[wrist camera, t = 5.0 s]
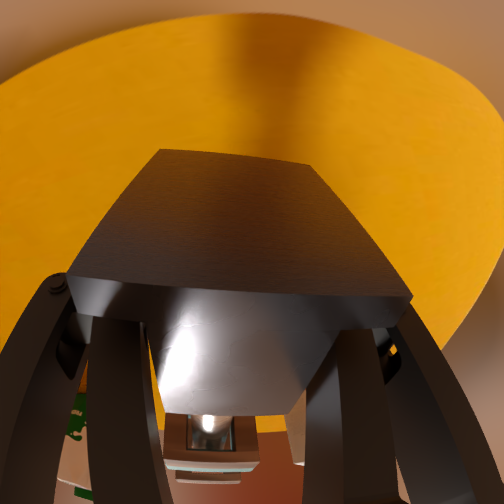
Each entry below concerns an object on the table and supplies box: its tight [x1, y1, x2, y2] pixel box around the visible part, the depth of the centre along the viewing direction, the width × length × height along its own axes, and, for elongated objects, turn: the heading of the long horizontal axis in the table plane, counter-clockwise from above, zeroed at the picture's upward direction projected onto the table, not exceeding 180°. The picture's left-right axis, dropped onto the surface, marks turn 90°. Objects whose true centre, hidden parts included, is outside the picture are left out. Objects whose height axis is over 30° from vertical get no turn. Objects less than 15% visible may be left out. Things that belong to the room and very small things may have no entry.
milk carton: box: [57, 394, 93, 501], centre depth 32 cm, size 9×9×20 cm
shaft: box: [65, 149, 413, 450], centre depth 17 cm, size 30×7×9 cm, turn 171°
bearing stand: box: [163, 412, 260, 484], centre depth 27 cm, size 24×12×15 cm, turn 171°
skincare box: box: [284, 390, 306, 466], centre depth 36 cm, size 6×4×12 cm
